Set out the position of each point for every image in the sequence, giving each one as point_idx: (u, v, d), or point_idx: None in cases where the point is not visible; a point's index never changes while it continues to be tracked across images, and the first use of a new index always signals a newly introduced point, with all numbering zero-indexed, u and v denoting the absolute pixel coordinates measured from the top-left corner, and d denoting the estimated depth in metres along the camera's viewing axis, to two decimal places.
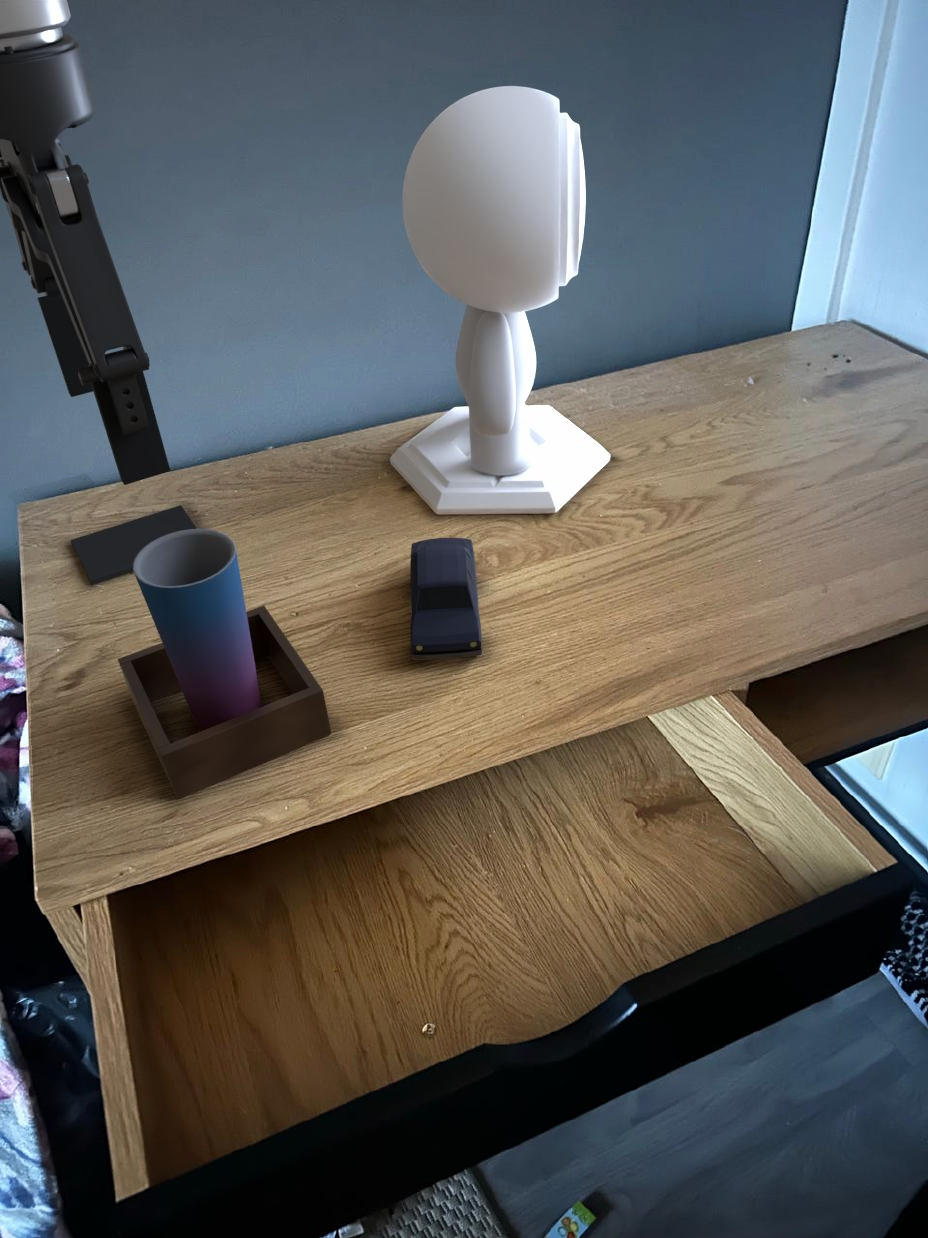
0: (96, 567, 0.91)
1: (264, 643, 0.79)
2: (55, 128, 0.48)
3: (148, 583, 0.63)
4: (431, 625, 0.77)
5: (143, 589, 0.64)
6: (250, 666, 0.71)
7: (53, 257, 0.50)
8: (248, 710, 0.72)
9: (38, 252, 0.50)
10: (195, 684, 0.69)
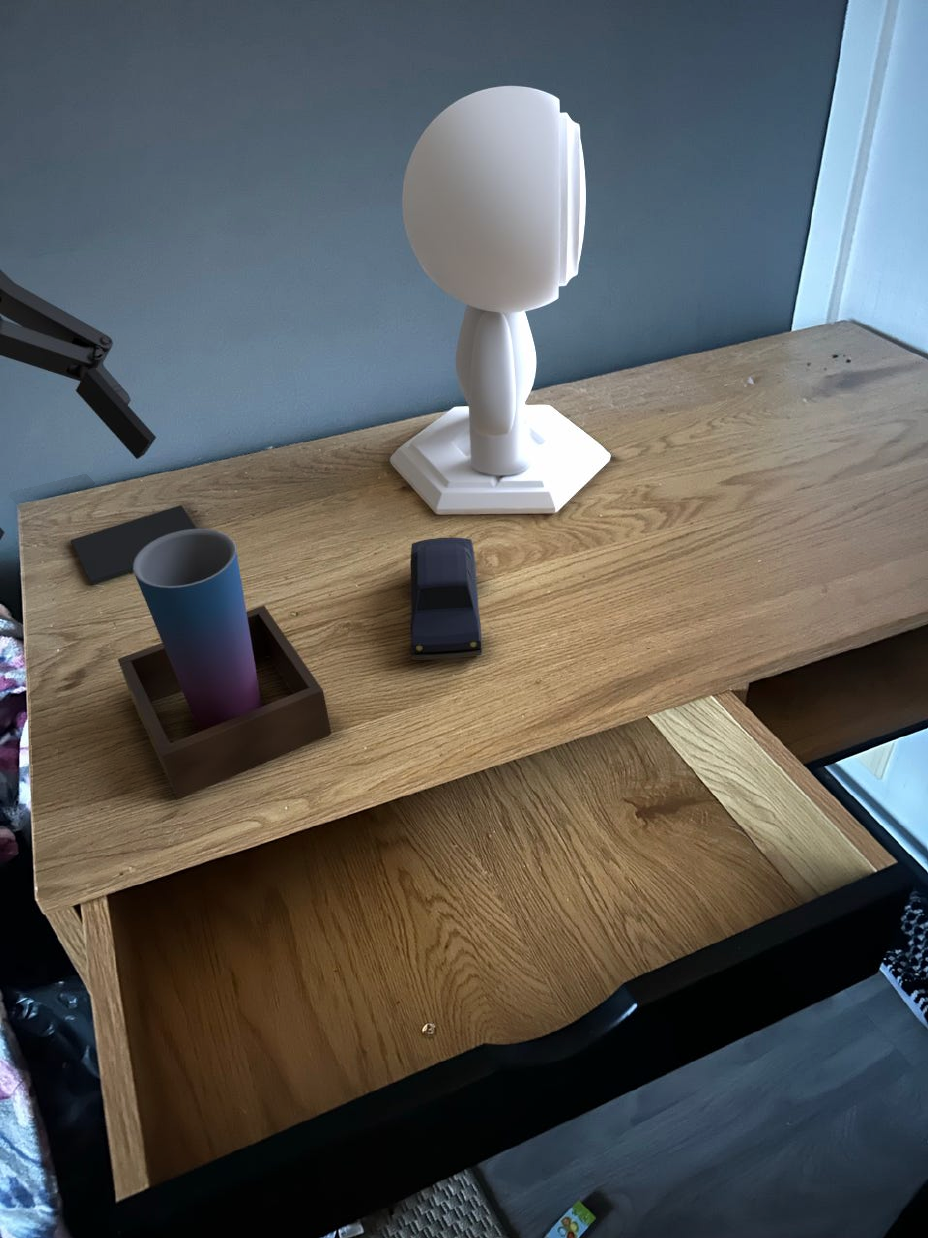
0: (96, 567, 0.91)
1: (264, 643, 0.79)
2: None
3: (148, 583, 0.63)
4: (431, 625, 0.77)
5: (143, 589, 0.64)
6: (250, 666, 0.71)
7: None
8: (248, 710, 0.72)
9: None
10: (195, 684, 0.69)
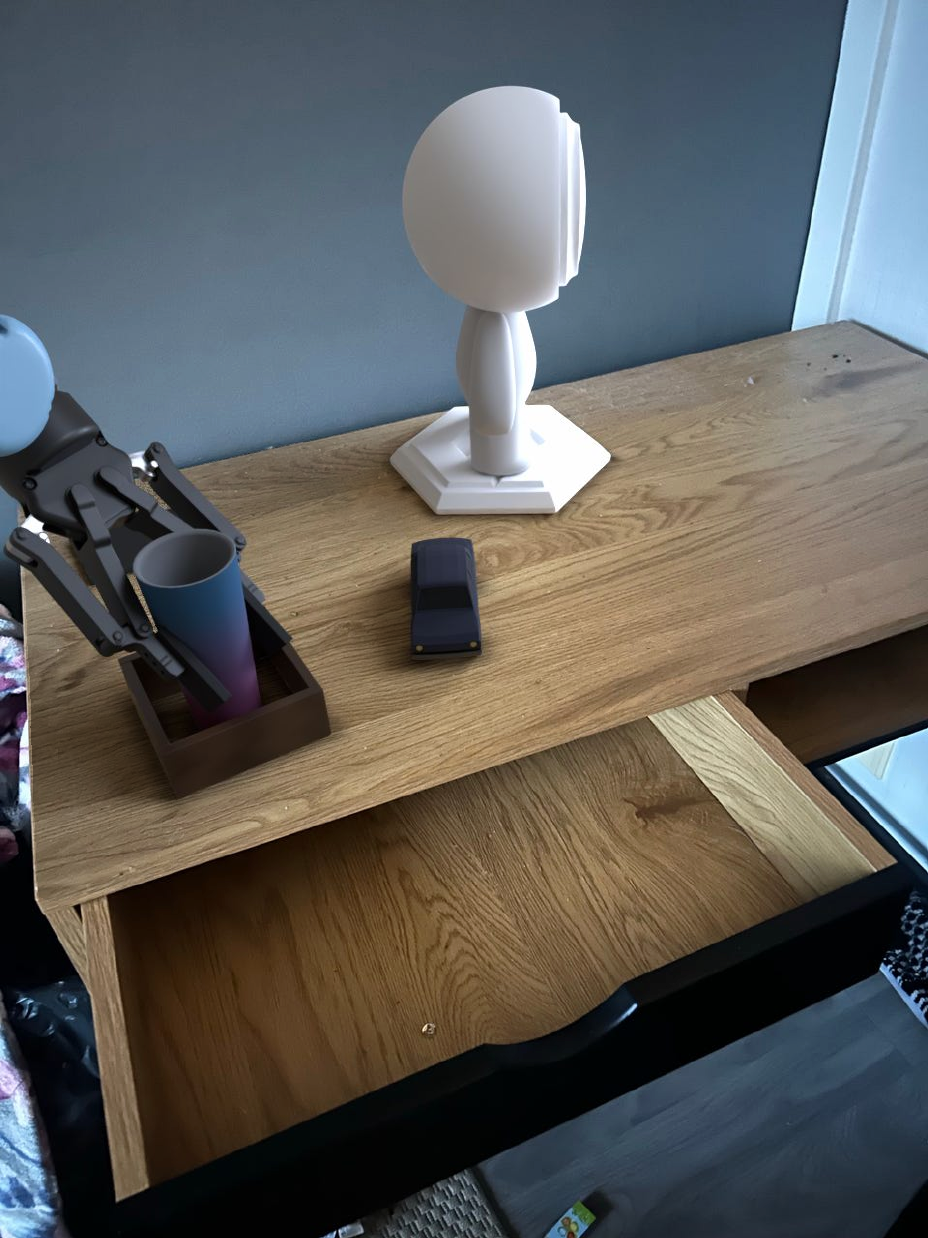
0: None
1: None
2: None
3: (148, 583, 0.63)
4: (431, 625, 0.77)
5: (143, 589, 0.64)
6: (250, 666, 0.71)
7: None
8: (248, 710, 0.72)
9: (154, 504, 0.68)
10: None
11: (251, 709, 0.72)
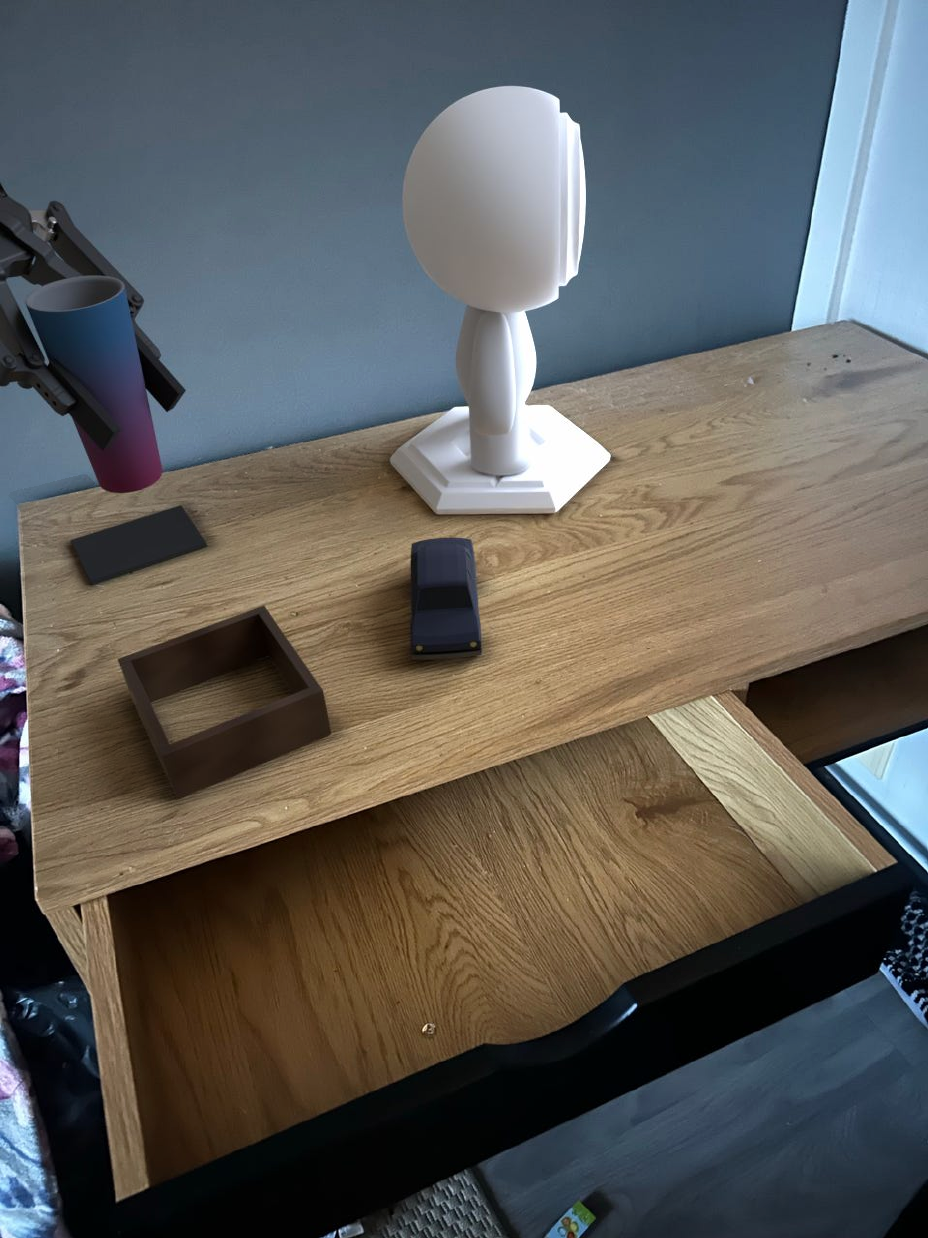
0: (96, 567, 0.91)
1: (264, 643, 0.79)
2: None
3: (37, 309, 0.67)
4: (431, 625, 0.77)
5: (34, 318, 0.68)
6: (145, 415, 0.74)
7: None
8: (145, 462, 0.76)
9: (50, 252, 0.72)
10: None
11: (148, 462, 0.76)
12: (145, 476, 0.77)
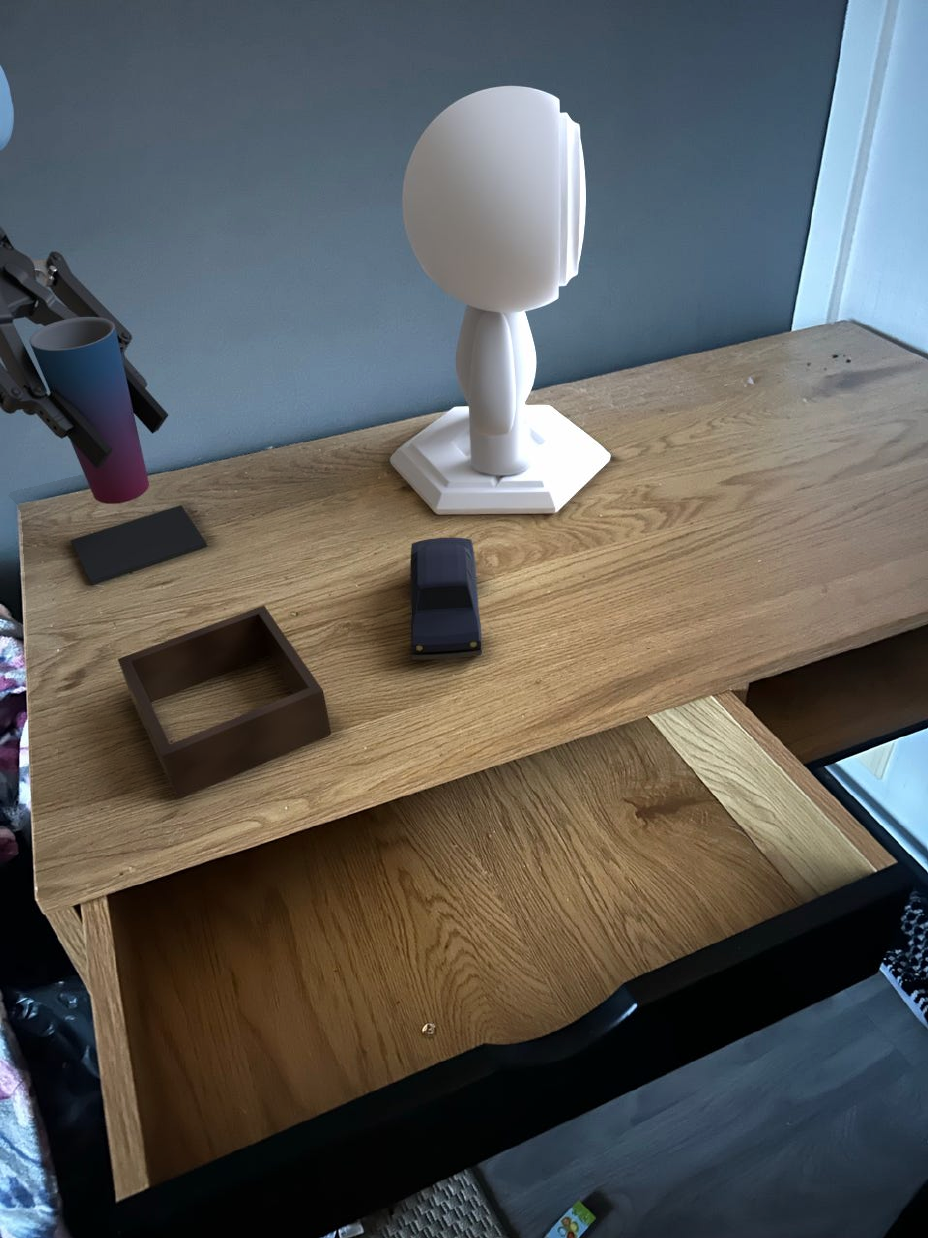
0: (96, 567, 0.91)
1: (264, 643, 0.79)
2: None
3: (40, 348, 0.79)
4: (431, 625, 0.77)
5: (37, 355, 0.79)
6: (133, 436, 0.86)
7: (58, 302, 0.84)
8: (133, 476, 0.87)
9: (51, 297, 0.83)
10: None
11: (136, 476, 0.88)
12: (133, 489, 0.88)
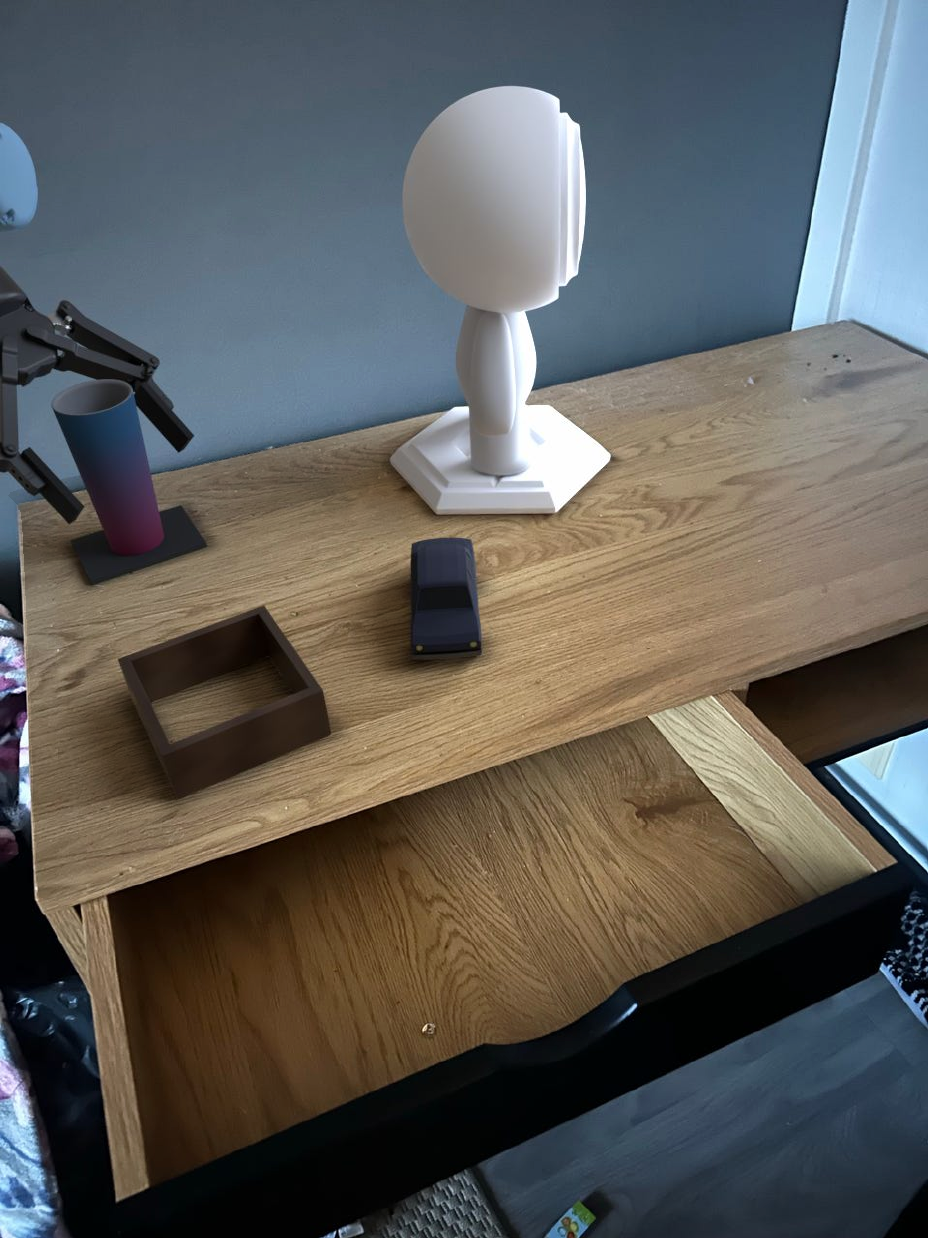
0: (96, 567, 0.91)
1: (264, 643, 0.79)
2: None
3: (61, 412, 0.82)
4: (431, 625, 0.77)
5: (58, 419, 0.83)
6: (149, 492, 0.90)
7: (80, 347, 0.88)
8: (149, 530, 0.91)
9: (75, 345, 0.87)
10: (104, 502, 0.88)
11: (152, 529, 0.91)
12: (149, 541, 0.92)
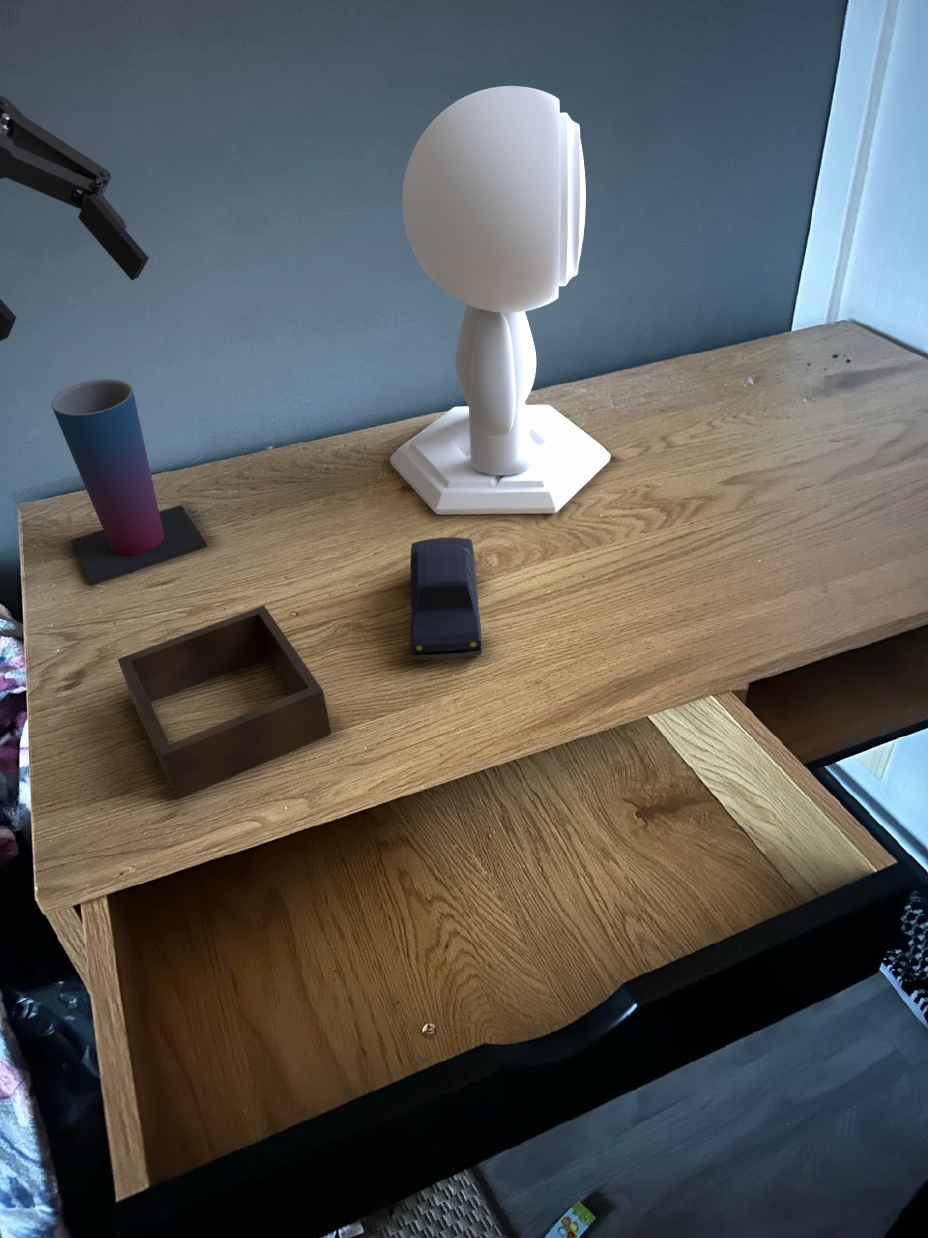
0: (96, 567, 0.91)
1: (264, 643, 0.79)
2: None
3: (61, 412, 0.82)
4: (431, 625, 0.77)
5: (59, 419, 0.83)
6: (149, 492, 0.90)
7: None
8: (149, 530, 0.91)
9: (11, 143, 0.77)
10: (104, 502, 0.88)
11: (152, 529, 0.91)
12: (149, 541, 0.92)
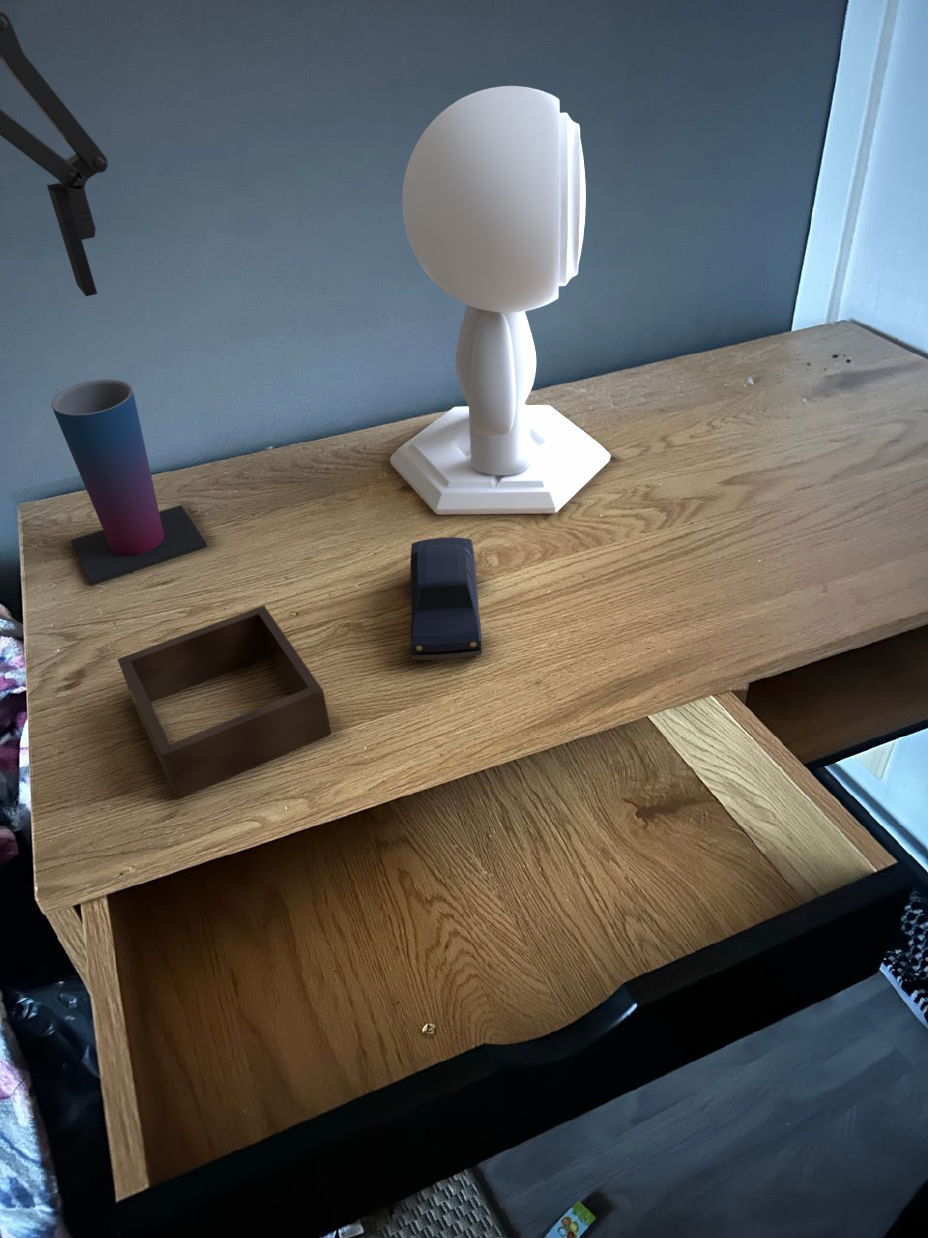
0: (96, 567, 0.91)
1: (264, 643, 0.79)
2: None
3: (61, 412, 0.82)
4: (431, 625, 0.77)
5: (58, 419, 0.83)
6: (149, 492, 0.90)
7: None
8: (149, 530, 0.91)
9: None
10: (104, 502, 0.88)
11: (152, 529, 0.91)
12: (149, 541, 0.92)
